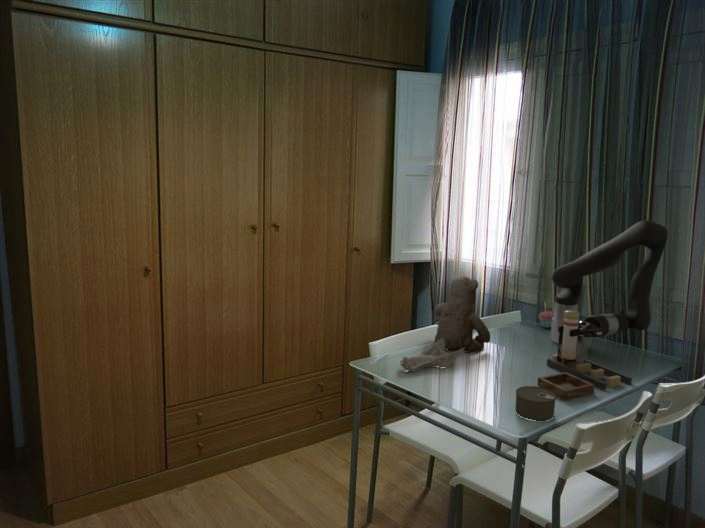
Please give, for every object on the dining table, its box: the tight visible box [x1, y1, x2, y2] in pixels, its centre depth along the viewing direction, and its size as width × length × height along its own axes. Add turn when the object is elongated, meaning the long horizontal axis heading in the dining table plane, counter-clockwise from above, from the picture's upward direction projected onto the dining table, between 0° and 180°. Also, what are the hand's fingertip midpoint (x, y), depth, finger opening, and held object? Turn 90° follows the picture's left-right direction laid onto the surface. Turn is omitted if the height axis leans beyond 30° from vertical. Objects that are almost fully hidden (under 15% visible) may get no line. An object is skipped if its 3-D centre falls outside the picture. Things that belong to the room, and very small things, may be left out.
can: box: [515, 385, 557, 421], centre depth 188 cm, size 12×12×7 cm
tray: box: [536, 372, 596, 401], centre depth 207 cm, size 13×13×3 cm
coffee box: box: [556, 324, 590, 369], centre depth 228 cm, size 9×6×16 cm
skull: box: [399, 338, 466, 372], centre depth 228 cm, size 12×8×25 cm
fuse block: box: [546, 353, 633, 391], centre depth 223 cm, size 28×14×3 cm, turn 26°
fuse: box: [561, 310, 581, 360], centre depth 204 cm, size 5×5×16 cm
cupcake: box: [537, 300, 554, 329], centre depth 281 cm, size 9×8×12 cm
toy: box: [433, 275, 491, 353], centre depth 249 cm, size 26×20×30 cm
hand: (564, 331), depth 202 cm, fingers closed on fuse, 4 cm apart
